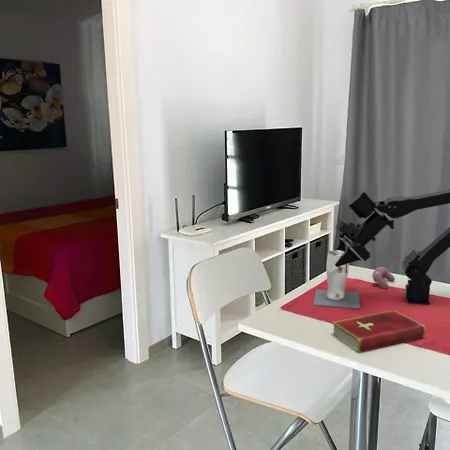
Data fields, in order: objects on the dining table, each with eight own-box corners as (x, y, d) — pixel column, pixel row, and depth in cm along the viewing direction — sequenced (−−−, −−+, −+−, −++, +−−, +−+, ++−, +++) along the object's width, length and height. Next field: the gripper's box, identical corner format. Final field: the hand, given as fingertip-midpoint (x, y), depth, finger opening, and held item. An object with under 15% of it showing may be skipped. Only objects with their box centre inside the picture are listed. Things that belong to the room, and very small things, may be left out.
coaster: (358, 293, 162) (358, 292, 162) (359, 309, 149) (359, 307, 149) (316, 290, 165) (316, 289, 165) (313, 305, 152) (313, 304, 152)
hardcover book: (424, 339, 129) (425, 325, 128) (358, 354, 121) (359, 339, 120) (393, 322, 140) (394, 309, 139) (331, 335, 132) (331, 321, 131)
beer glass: (343, 303, 153) (346, 257, 149) (321, 299, 156) (324, 254, 152) (348, 295, 159) (352, 251, 155) (328, 292, 162) (330, 248, 158)
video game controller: (384, 283, 175) (376, 266, 176) (396, 280, 173) (388, 262, 173) (376, 292, 167) (368, 273, 168) (388, 288, 165) (380, 269, 165)
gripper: (344, 205, 160) (310, 238, 162) (361, 217, 142) (322, 254, 144) (367, 228, 162) (332, 261, 164) (386, 242, 144) (347, 278, 146)
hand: (333, 263), depth 154 cm, fingers closed on beer glass, 6 cm apart
